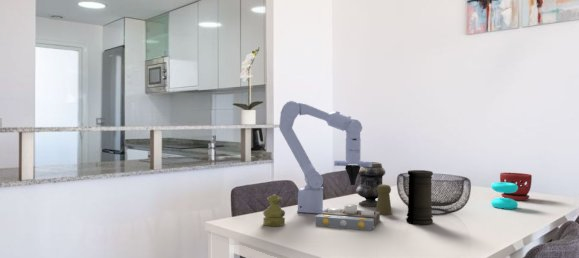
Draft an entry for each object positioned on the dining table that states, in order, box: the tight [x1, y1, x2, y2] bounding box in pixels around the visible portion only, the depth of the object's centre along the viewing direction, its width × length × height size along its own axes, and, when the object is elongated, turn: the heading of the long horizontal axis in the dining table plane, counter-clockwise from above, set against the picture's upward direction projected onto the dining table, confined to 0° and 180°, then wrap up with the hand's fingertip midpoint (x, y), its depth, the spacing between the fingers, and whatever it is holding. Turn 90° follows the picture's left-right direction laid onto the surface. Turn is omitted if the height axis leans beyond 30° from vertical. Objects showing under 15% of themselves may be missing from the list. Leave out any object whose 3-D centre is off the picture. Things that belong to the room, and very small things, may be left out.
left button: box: [328, 207, 341, 213], centre depth 160 cm, size 4×4×4 cm
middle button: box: [343, 203, 358, 214], centre depth 158 cm, size 4×4×4 cm
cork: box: [375, 184, 393, 216], centre depth 172 cm, size 6×6×11 cm
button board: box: [321, 207, 381, 227], centre depth 158 cm, size 19×10×3 cm, turn 70°
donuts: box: [490, 181, 519, 210], centre depth 187 cm, size 10×10×10 cm
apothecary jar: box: [355, 161, 386, 207], centre depth 191 cm, size 12×12×18 cm
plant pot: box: [499, 172, 533, 201], centre depth 208 cm, size 13×13×12 cm
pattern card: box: [315, 214, 375, 231], centre depth 150 cm, size 19×4×3 cm, turn 70°
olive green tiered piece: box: [262, 194, 286, 228], centre depth 152 cm, size 7×7×10 cm
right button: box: [361, 210, 375, 216], centre depth 156 cm, size 4×4×4 cm
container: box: [405, 169, 434, 226], centre depth 157 cm, size 9×9×18 cm
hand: (352, 184), depth 175 cm, fingers closed
